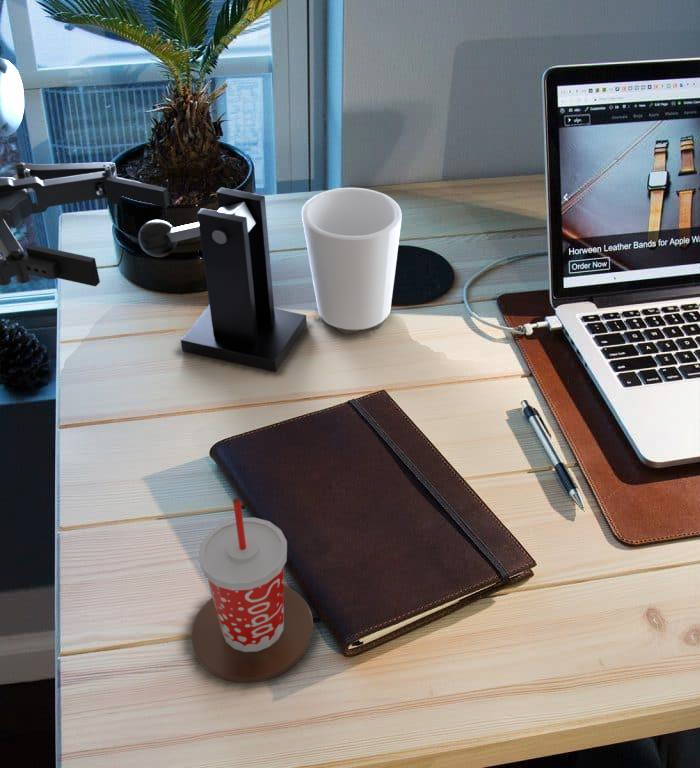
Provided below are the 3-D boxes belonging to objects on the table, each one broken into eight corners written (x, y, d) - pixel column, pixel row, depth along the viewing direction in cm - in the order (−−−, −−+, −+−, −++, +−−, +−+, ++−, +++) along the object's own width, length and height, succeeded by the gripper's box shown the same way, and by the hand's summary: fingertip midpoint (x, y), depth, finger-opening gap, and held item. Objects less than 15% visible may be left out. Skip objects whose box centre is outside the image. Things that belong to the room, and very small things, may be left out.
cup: (351, 277, 116) (348, 176, 108) (419, 312, 112) (422, 210, 104) (287, 317, 110) (279, 213, 102) (357, 356, 106) (355, 250, 98)
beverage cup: (216, 669, 76) (194, 542, 67) (207, 603, 81) (185, 476, 72) (300, 650, 78) (289, 524, 69) (287, 587, 82) (275, 461, 73)
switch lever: (144, 266, 101) (124, 235, 100) (162, 247, 104) (143, 216, 102) (246, 244, 97) (227, 211, 95) (262, 225, 99) (244, 192, 98)
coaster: (196, 694, 75) (195, 689, 75) (188, 596, 82) (188, 591, 81) (321, 669, 78) (321, 664, 77) (304, 576, 84) (304, 571, 84)
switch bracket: (182, 351, 104) (160, 215, 94) (217, 307, 110) (201, 174, 100) (276, 372, 103) (264, 236, 93) (306, 326, 109) (299, 193, 99)
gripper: (20, 170, 116) (196, 206, 113) (-138, 292, 97) (69, 339, 95) (4, 107, 111) (188, 143, 108) (-166, 223, 93) (52, 271, 90)
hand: (133, 235), depth 102 cm, fingers open, 13 cm apart
